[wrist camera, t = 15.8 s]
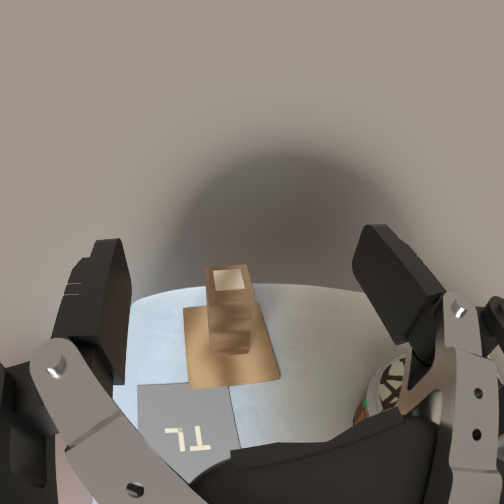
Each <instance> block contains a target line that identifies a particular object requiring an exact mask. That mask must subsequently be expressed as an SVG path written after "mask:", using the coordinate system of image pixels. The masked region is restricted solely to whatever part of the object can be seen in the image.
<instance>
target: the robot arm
mask: <svg viewBox="0 0 504 504" xmlns="http://www.w3.org/2000/svg"><path fill="white" fill-rule="evenodd" d="M352 270H353V274H354V275H355V278H356V279H357V281H358V282H359V284H360V286H361V287H362V289H363V291H364V292H365V294H366V295H367V297H368V299H369V300H370V302H371V304H372V305H373V307H374V309H375V310H376V312H377V314H378V315H379V317H380V319H381V320H382V322H383V324H384V326H385V327H386V329H387V331H388V333H389V334H390V336H391V338H392V340H393V341H394V343H395V345H399V344H403V343H406V342H409V343H410V347H409V348H408V350H407V353H406V360H405V367H404V374H403V380H402V386H401V392H400V396H399V399H398V401H397V403H396V404H395V406H394V408H392V409H389V410H387V411H384V412H382V413H379V414H376V415H373V416H371V417H368V418H365V419H363V420H362V421H360V422H359V423H357V424H356V425H354V426H353V427H351V428H349V429H348V430H346V431H345V432H343V433H341V434H340V435H338V436H337V437H335V438H333V439H332V440H330V441H327V442H318V443H280V442H277V443H272V444H267V445H261V446H255V447H249V448H243V449H235V450H230V458H228V459H226V460H223V461H221V462H219V463H217V464H215V465H213V466H211V467H209V468H208V469H206V470H205V471H203V472H201V473H200V474H199V475H198V476H197V477H195V478H194V479H193V480H192V481H191V482H190V483H188V482H187V481H186V480H185V479H184V478H182V477H181V476H180V475H179V474H178V473H177V472H176V471H175V470H174V469H173V468H172V467H171V466H170V465H169V464H168V463H167V462H166V461H165V460H164V459H163V458H162V457H161V456H160V455H159V454H158V453H157V451H156V450H155V449H154V448H153V447H152V446H151V445H150V444H149V443H148V442H147V441H146V439H145V438H144V437H143V436H142V435H141V434H140V433H139V431H138V430H137V429H136V428H135V427H134V425H133V424H132V423H131V422H130V421H129V419H128V418H127V417H126V416H125V414H124V413H123V412H122V411H121V409H120V408H119V407H118V405H117V404H116V403H115V401H114V400H113V399H112V396H113V385H125V363H126V348H127V335H128V324H129V314H130V305H131V296H132V286H131V278H130V274H129V270H128V266H127V262H126V258H125V254H124V249H123V245H122V242H121V240H120V239H119V238H117V239H105V240H97V241H96V242H95V244H94V247H93V250H92V253H91V256H90V257H88V258H82V259H81V260H80V261H79V262H78V264H77V265H76V266H75V267H74V268H73V269H72V272H71V275H70V278H69V280H68V285H67V286H66V289H65V292H64V296H63V298H62V301H61V304H60V308H59V311H58V314H57V318H56V321H55V325H54V328H53V332H52V336H51V339H50V340H47V341H45V342H43V343H42V344H41V345H40V346H39V347H38V348H37V349H36V350H35V351H34V353H33V355H32V357H31V360H30V361H29V362H25V363H22V364H19V365H16V366H12V367H8V368H5V367H4V366H3V365H2V364H1V363H0V504H58V494H57V484H56V467H55V434H58V433H60V434H61V436H62V438H63V439H64V441H65V443H66V446H67V448H66V449H65V455H66V457H67V460H68V461H69V463H70V465H71V467H72V468H73V470H74V471H75V473H76V474H77V475H78V477H79V478H80V480H81V481H82V483H83V484H84V485H85V487H86V488H87V489H88V491H89V492H90V493H91V495H92V496H93V497H94V499H95V500H96V501H97V502H98V504H504V385H503V384H502V383H501V382H500V380H499V378H498V376H497V367H496V363H495V362H494V361H493V360H492V359H489V358H487V356H488V355H489V354H490V353H491V352H492V351H493V349H494V348H495V347H496V346H497V345H498V344H499V346H500V348H501V349H502V351H503V353H504V299H502V298H500V297H497V296H494V297H492V298H491V299H490V300H489V302H488V303H487V304H486V306H485V307H475V306H474V304H473V303H472V302H471V300H469V298H467V297H466V296H465V295H463V294H461V293H459V292H456V291H448V292H447V291H446V290H445V289H444V288H443V286H442V285H441V284H440V282H439V281H438V280H437V279H436V278H435V276H434V275H433V274H432V273H431V271H430V270H429V269H428V268H427V266H426V265H423V262H422V260H421V259H420V258H419V257H417V255H416V253H415V252H414V251H413V250H412V249H411V248H410V246H409V245H407V244H406V243H404V242H403V241H402V240H400V239H399V238H398V237H397V236H396V234H395V233H394V232H393V231H392V230H391V229H390V228H389V227H388V226H387V225H385V224H377V225H366V226H364V228H363V230H362V232H361V235H360V239H359V242H358V245H357V248H356V251H355V254H354V257H353V260H352ZM10 440H11V444H10Z"/></svg>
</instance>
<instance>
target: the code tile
mask: <svg viewBox="0 0 504 504" xmlns="http://www.w3.org/2000/svg"><path fill="white" fill-rule="evenodd" d="M137 401H138V431H139V433H140V434H141V435H142V436H143V437H144V438H145V439H146V441H147V442H148V443H149V444H150V445H151V446H152V447H153V448H154V449H155V450H156V451H157V453H158V454H159V455H160V456H161V457H162V458H163V459H164V460H165V461H166V462H167V463H168V464H169V465H170V466H171V467H172V468H173V469H174V470H175V471H176V472H177V473H178V474H179V475H180V476H181V477H182V478H184V479H185V480H186V481H187V482H188V483H190V482H191V481H192V480H193V479H194V478H195V477H197V476H198V475H199V474H200V473H201V472H203V471H205V470H206V469H208V468H209V467H211V466H213V465H215V464H217V463H219V462H221V461H223V460H226V459H228V458H230V450H235V449H240V445H239V440H238V436H237V431H236V426H235V421H234V416H233V411H232V406H231V400H230V395H229V390H228V386H222V387H213V388H202V389H189V383H181V384H164V385H137Z"/></svg>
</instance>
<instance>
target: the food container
mask: <svg viewBox="0 0 504 504" xmlns="http://www.w3.org/2000/svg"><path fill="white" fill-rule="evenodd" d="M405 360H406V353H405V354H402V355H399V356H396V357H394V358H392V359H391V360H389V361H388V362H386V363H385V364H384V365H382V366H381V367H380V368H379V369H378V370H377V371H376V372H375V374H374V375H373V377H372V378H371V380H370V383H369V386H368V390H367V395H366V397H365V398H364V400H363V401H362V403H361V404H360V406H359V407H358V409H357V411H356V413H355V416H354V420H353V426H354V425H356V424H357V423H359V422H360V421H362V420H363V419H365V418H368V417H371V416H373V415H376V414H379V413H382V412H384V411H387V410H389V409H392V408H394V406H395V404H396V403H397V401H398V399H399V396H400V392H401V386H402V380H403V374H404V367H405Z"/></svg>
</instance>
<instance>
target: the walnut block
mask: <svg viewBox="0 0 504 504" xmlns="http://www.w3.org/2000/svg"><path fill="white" fill-rule="evenodd" d="M205 280H206V299H207V315H208V330H209V338H210V345H211V353H212V357H220V356H230V355H239V354H247V353H248V350H249V341H250V332H251V322H252V313H253V304H254V290H253V287H252V283H251V279H250V276H249V272H248V269H247V265H246V264H244V265H231V266H216V267H205Z"/></svg>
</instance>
